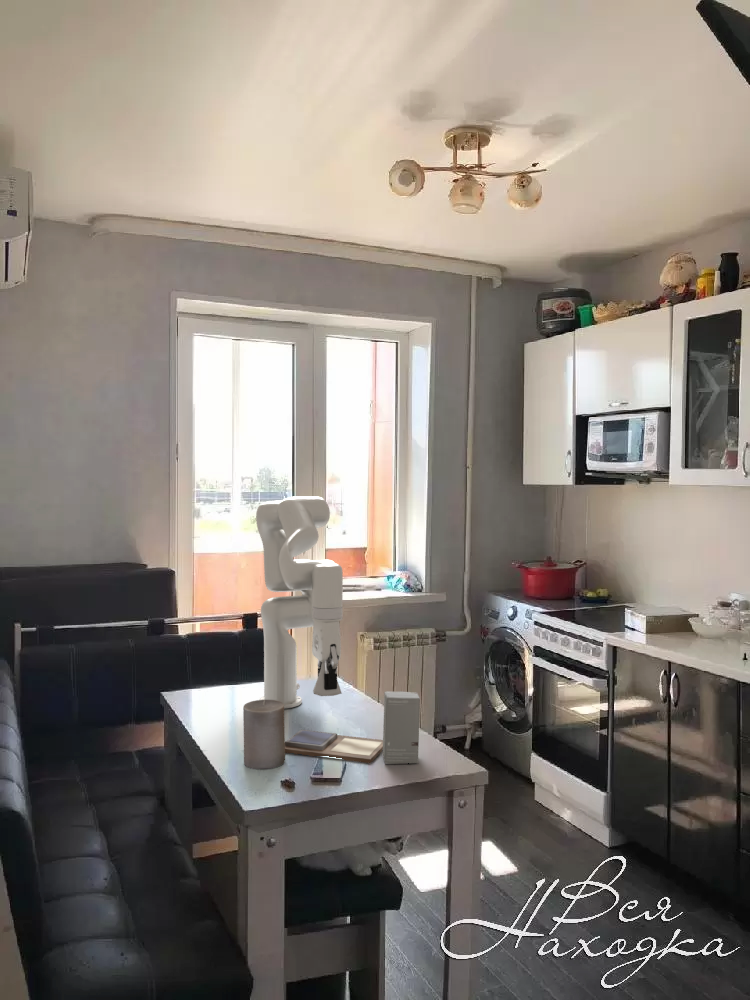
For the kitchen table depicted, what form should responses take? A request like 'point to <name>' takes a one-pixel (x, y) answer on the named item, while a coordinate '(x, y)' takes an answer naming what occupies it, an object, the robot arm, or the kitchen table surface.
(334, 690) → the flask
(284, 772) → the kitchen table surface
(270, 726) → the pillar candle
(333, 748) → the board
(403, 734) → the skincare box
